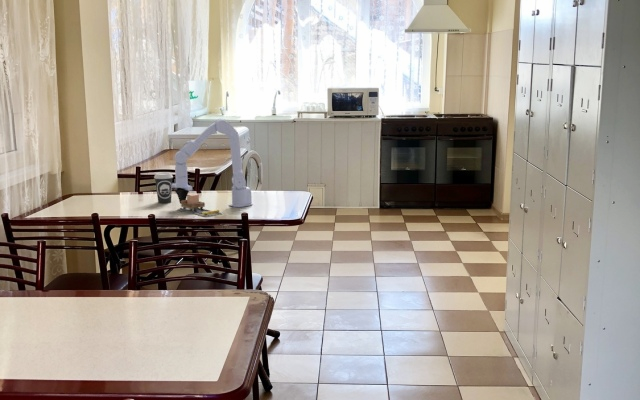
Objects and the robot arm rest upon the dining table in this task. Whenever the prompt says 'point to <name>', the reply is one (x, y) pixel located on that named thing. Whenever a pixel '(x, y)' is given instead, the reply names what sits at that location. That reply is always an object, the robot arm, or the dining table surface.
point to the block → (192, 199)
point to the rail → (201, 212)
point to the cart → (192, 205)
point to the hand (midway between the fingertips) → (182, 203)
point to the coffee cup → (164, 186)
